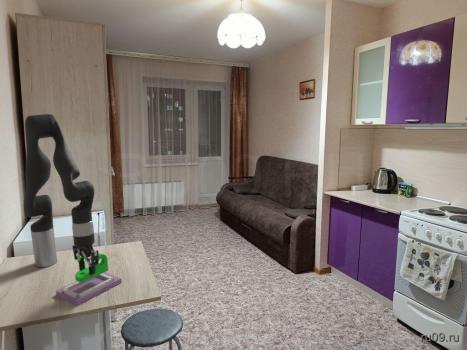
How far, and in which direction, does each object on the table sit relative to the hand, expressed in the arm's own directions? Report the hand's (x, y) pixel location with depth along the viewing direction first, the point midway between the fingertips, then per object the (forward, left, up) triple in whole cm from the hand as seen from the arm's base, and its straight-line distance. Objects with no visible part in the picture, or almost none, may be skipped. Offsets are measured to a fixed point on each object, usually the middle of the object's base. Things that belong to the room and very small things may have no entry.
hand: (87, 272), depth 129 cm
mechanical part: (0, +1, -2) cm, 2 cm away
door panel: (-1, +1, -8) cm, 8 cm away
